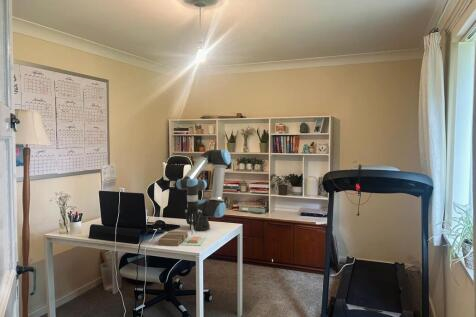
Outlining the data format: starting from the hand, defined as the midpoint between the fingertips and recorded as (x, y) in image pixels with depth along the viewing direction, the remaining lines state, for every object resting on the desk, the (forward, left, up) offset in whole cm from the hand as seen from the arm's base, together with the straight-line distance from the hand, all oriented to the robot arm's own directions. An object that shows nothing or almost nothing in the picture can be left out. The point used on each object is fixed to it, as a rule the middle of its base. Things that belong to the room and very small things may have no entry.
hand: (192, 234), depth 244 cm
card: (0, +2, -3) cm, 3 cm away
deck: (0, -14, -5) cm, 15 cm away
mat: (0, +1, -5) cm, 6 cm away
